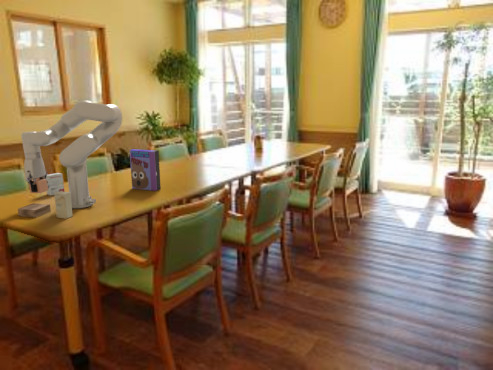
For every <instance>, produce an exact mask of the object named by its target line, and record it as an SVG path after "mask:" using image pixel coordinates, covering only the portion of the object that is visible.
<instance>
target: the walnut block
mask: <svg viewBox="0 0 493 370" xmlns="http://www.w3.org/2000/svg"><path fill="white" fill-rule="evenodd" d="M51 211H52V210H51V205H50V204H48V203H47V204H45V203H34V202H33V203H30V204H27V205H25V206H22V207H19V208H17V213H18V216H19V217H25V218H27V217H28V218H38V217H41V216H43V215H46V214H48V213H51Z"/></svg>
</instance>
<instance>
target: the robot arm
mask: <svg viewBox="0 0 493 370" xmlns="http://www.w3.org/2000/svg"><path fill="white" fill-rule="evenodd" d="M86 121H95V122H100V123H99V124H98V125H96V126H95V128H93V129H92V130H90V131H89V132H87V133H86V134H83V135H80V136H79V137H78V138H76V139H75V140H73V142H71V143H70V144H69V145H68V146H66V147H65V148H64V149H63V150H62V151H61V152H60V154H59V158H58V159H59V162H60V164H61V165H62V166H63V167H65V168H66V173H67V174H66V175H67V183H68V184H67V185H68V192H71V204H72V209H85V208H88V207H91V206H93V205H94V204H96V198H92V195H90V191H89V182H88V169H87V166H88V165H87V162H88V160H87V158H88V157H89V156H91V155H92V154H93V153H94V152H96V151H97V150H98V149H99V148H100V147H101V146H103V144H105V143H106V142H107V141H109V139H111V138H112V137H113V136H114V135H116V133H117V132H118V131H119V130H120V128H121V126H122V122H123V113H122V111H121V109H120V107H119V106H118V105H117V104H115V103H114V104H113V103H108V104H102V103H96V102H93V101H91V100H87V99H86V100H79V101H77V102H76V103H75V104H74V105H73V107H72V108H71V109H69V110H67V111H66V112H65V113H63V114H62V115H61V116H60V120H58V121H57V122H56V123H55V124H54V125H52V126H50V127H49V128H47V129H44V130H40V131H34V130H33V131H32V130H31V131H24V132H22V133H21V141H22V148H23V152H24V158H25V159H24V161H23V162H24V163H23V164H24V173H25V179H24V180H25V182H27V183H28V185H29V184H30V185H31V191H32V192H38V190H37V184H35V183H36V179H46V176H47V175H48V171H47V170H46V167H45V166H46V165H45V162H44V159H43V157H42V150H41V147H47V146H50V145H52V144H55V143H56V142H58V141H59V140H61V139H63V138H64V137H65V136H67V135H68V134H70V132H72V131H74V130H75V129H76V128H78V127H79V126H80V125H82V124H83V123H85V122H86ZM32 180H33V181H32Z"/></svg>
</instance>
